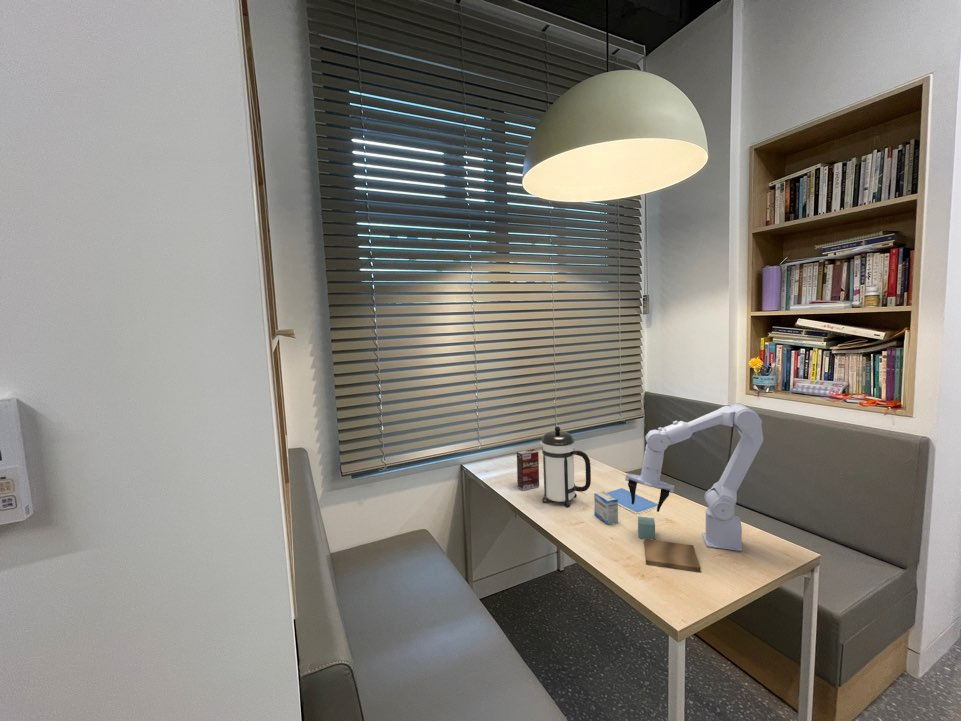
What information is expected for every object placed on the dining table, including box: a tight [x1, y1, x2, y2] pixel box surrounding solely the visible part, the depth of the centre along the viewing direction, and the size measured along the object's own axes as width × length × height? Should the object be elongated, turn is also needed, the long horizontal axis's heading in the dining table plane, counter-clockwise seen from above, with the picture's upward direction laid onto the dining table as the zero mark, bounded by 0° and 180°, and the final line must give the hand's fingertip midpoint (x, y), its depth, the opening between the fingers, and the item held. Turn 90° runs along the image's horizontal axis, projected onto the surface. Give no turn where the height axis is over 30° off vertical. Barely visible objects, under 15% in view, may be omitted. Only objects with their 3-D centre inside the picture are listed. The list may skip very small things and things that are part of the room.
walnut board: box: [643, 539, 701, 573], centre depth 119 cm, size 14×12×1 cm
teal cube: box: [637, 515, 656, 540], centre depth 132 cm, size 5×5×5 cm
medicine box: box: [593, 490, 619, 525], centre depth 143 cm, size 8×4×9 cm, turn 21°
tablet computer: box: [606, 487, 658, 515], centre depth 157 cm, size 19×13×1 cm, turn 27°
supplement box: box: [516, 449, 540, 492], centre depth 174 cm, size 9×5×16 cm, turn 114°
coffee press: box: [538, 426, 592, 508], centre depth 159 cm, size 17×16×30 cm
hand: (645, 506), depth 131 cm, fingers open, 7 cm apart
